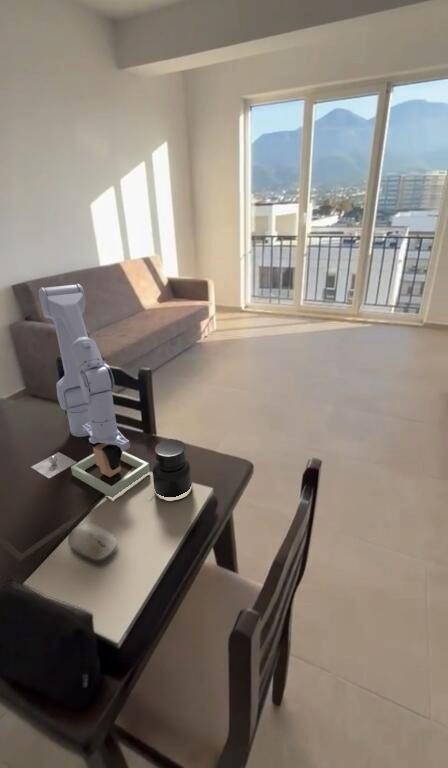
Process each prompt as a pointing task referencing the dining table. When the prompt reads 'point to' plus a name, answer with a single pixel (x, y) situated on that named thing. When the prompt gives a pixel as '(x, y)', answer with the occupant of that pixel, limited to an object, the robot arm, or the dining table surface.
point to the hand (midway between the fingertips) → (110, 464)
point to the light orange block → (104, 461)
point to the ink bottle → (171, 469)
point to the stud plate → (53, 465)
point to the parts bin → (104, 487)
